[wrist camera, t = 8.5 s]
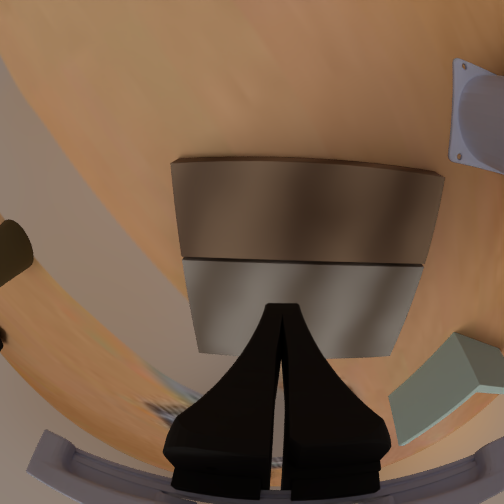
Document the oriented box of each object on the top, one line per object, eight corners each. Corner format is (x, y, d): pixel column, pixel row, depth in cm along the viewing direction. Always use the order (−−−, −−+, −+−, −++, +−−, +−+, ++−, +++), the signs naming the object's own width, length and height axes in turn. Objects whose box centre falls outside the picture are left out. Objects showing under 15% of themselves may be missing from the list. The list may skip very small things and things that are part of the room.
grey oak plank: (416, 257, 20) (423, 267, 19) (386, 344, 25) (389, 355, 24) (187, 250, 22) (182, 260, 20) (202, 341, 27) (199, 352, 25)
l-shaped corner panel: (388, 395, 30) (398, 445, 23) (453, 331, 24) (479, 384, 18) (442, 401, 31) (454, 442, 25) (498, 347, 25) (520, 389, 19)
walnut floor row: (434, 171, 17) (444, 177, 16) (417, 254, 20) (424, 263, 19) (178, 158, 18) (170, 163, 17) (187, 246, 22) (181, 256, 20)
